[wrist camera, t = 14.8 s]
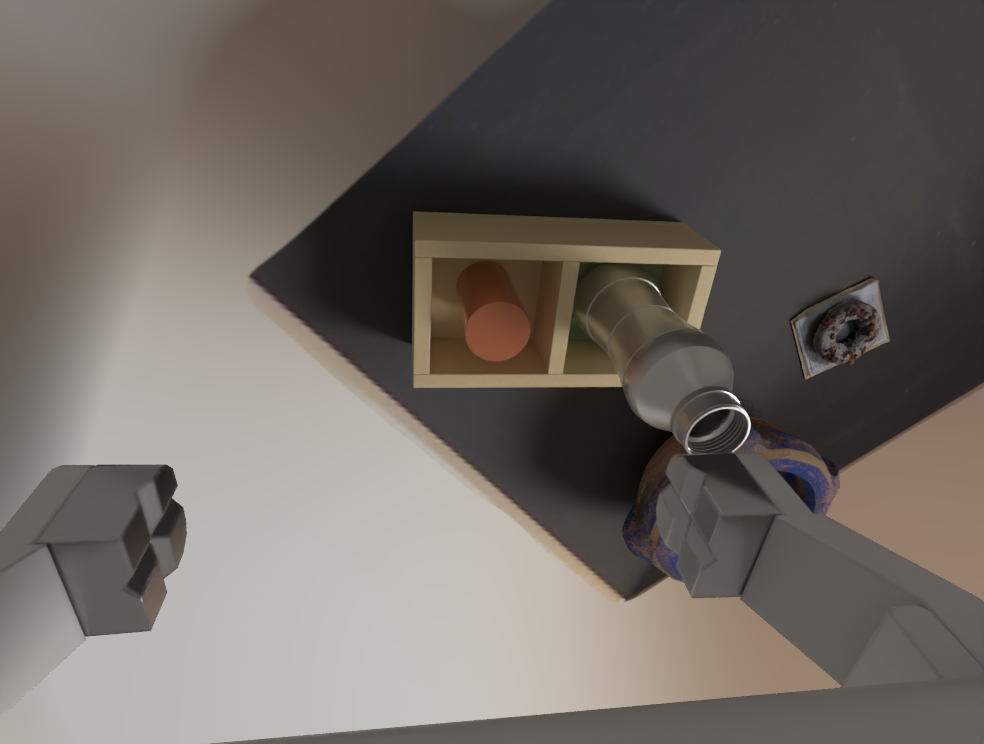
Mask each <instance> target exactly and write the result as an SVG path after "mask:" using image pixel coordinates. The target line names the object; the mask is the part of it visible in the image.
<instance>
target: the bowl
mask: <svg viewBox="0 0 984 744" xmlns="http://www.w3.org/2000/svg"><path fill="white" fill-rule="evenodd" d="M749 418H750V422H751V428H750V432H749V435H748V437H747V439H746V440H745V442H744V443H743V444H742V445H741V446H740V447H739V448H738V449H737V450H736V451H734V452H742V451H757V452H759V453H761V454H762V455H764V456H765V458H766V459H767V460H768V461H769V462H770V463H771V465H772V466H773V467H774V468H775V469H776V470H777V472H778V473H779V474H780V475H781V476H782V477H783V479H784V480H785V481H786V482H787V483H788V484H789V486H790V487H791V488H792V489H793V490H794V492H795V493H796V494H797V495H798V496H799V497H800V499H801V500H802V501H803V502H804V503H805V504H806V506H807V507H808V508H809V509H810V510H811V511H812V513H813V514H823V515H826V513H827V511H828V509H829V507H830V505H831V502H832V500H833V499H834V497H835V495H836V494H837V492H838V490H839V488H840V486H839V485H840V481H839V473H838V470H837V468H836V466H835V465H834V464H833V463H832V462H831V461H830V460H829V459H826V458H824V457H822V456H820V455H819V454H818V452H817V451H816V450H815V448H814V447H813V446H811V445H810V444H808V443H806V442H805V441H803V440H801V439H800V438H798V437H797V436H795V435H793V434H791V433H789V432H787V431H786V430H784V429H782V428H781V427H779V426H777V425H775V424H773V423H771V422H769V421H766V420H763V419H761V418H757V417H749ZM674 454H689V453H687V451H686V450H685V448H684V447H683V445H682V444H681V443H680V442H679V441H678V440H677V439H676V437H675V436H674V435H673V436H671V437H670V438H669V439H668V440H666V441H665V443H664V444H663V445H662V446H661V447H660V448H659V449H658V450H657V451H656V452H655V454H654V455H653V457H652V458H651V460H650V461H649V463H648V464H647V466H646V468H645V471H644V474H643V476H642V479H641V481H640V484H639V488H638V492H637V496H636V499H635V500H634V503H633V505H632V508H631V510H630V512H629V514H628V516H627V518H626V520H625V522H624V525H623V529H622V532H623V537H624V540H625V543H626V545H627V547H628V548H629V549H630V551H631V552H632V553H633V554H634V555H636V556H638V557H640V558H643V559H645V560H647V561H649V562H650V563H652V564H653V565H654V566H656V567H657V568H658V569H660V570H661V571H662V572H664V573H665V574H667V575H668V576H669V577H671V578H672V579H674V580H677V581H680V582H684V581H683V579H682V577H681V575H680V573H679V571H678V570H677V568H676V564H677V561H678V558H679V555H678V554H676V553H675V552H673V551H672V550H671V549H669V548H668V547H666V546H665V544H664V542H663V540H662V538H661V536H660V533H659V529H658V525H657V517H656V506H657V502H658V497H659V493H660V492H661V491H662V490H663V489H664V488H665V487H666V486H667V485H668V484H669V483H671V482H670V480H669V478H668V476H667V475H666V473H665V472H666V469H667V466H668V462H669V460H670V459H671V458H672V456H673V455H674Z"/></svg>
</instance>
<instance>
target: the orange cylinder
mask: <svg viewBox="0 0 984 744" xmlns="http://www.w3.org/2000/svg"><path fill="white" fill-rule="evenodd" d="M456 296H457V301H458V306H459V311H460V316H461V321H462V326H463V331H464V336H465V341H466V344H467V346H468V347H469V349H470V350H471V351H472V352H473V353H474V354H475V355H476V356H478V357H480V358H482V359H484V360H488V361H503V360H507V359H509V358H512V357H514V356H515V355H517V354H518V353H519V352H520V351H521V350H522V349H523V348H524V347H525V345H526V344H527V342H528V340H529V337H530V332H531V327H530V321H529V319H528V316H527V314H526V312H525V309H524V307H523V305H522V302H521V300H520V298H519V295H518V293H517V291H516V289H515V286H514V284H513V282H512V279H511V277H510V275H509V273H508V272H507V271H506V270H505V269H504V268H503V267H502V266H501V265H499V264H497V263H494V262H489V261H482V262H477V263H474V264H472V265H470V266H468V267H467V268H466V269H465V270H464V271H463V272H462V273H461V274H460V276H459V278H458V280H457V283H456Z"/></svg>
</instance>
